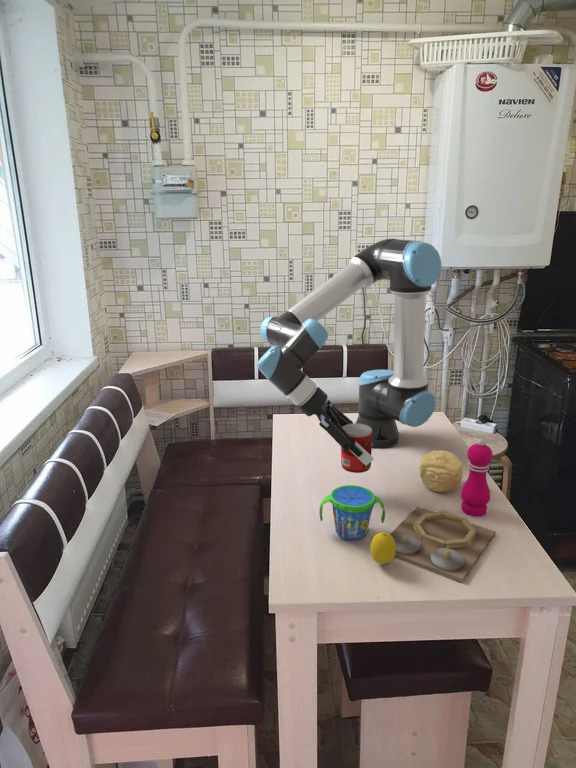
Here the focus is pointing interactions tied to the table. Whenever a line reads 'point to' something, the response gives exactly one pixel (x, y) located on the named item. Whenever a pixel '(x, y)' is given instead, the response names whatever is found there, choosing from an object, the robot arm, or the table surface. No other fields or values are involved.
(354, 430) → the canned food
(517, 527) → the table surface
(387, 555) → the lemon
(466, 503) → the pepper mill
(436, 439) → the table surface
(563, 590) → the table surface
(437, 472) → the sculpture
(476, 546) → the board
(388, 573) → the table surface
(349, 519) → the snack cup
